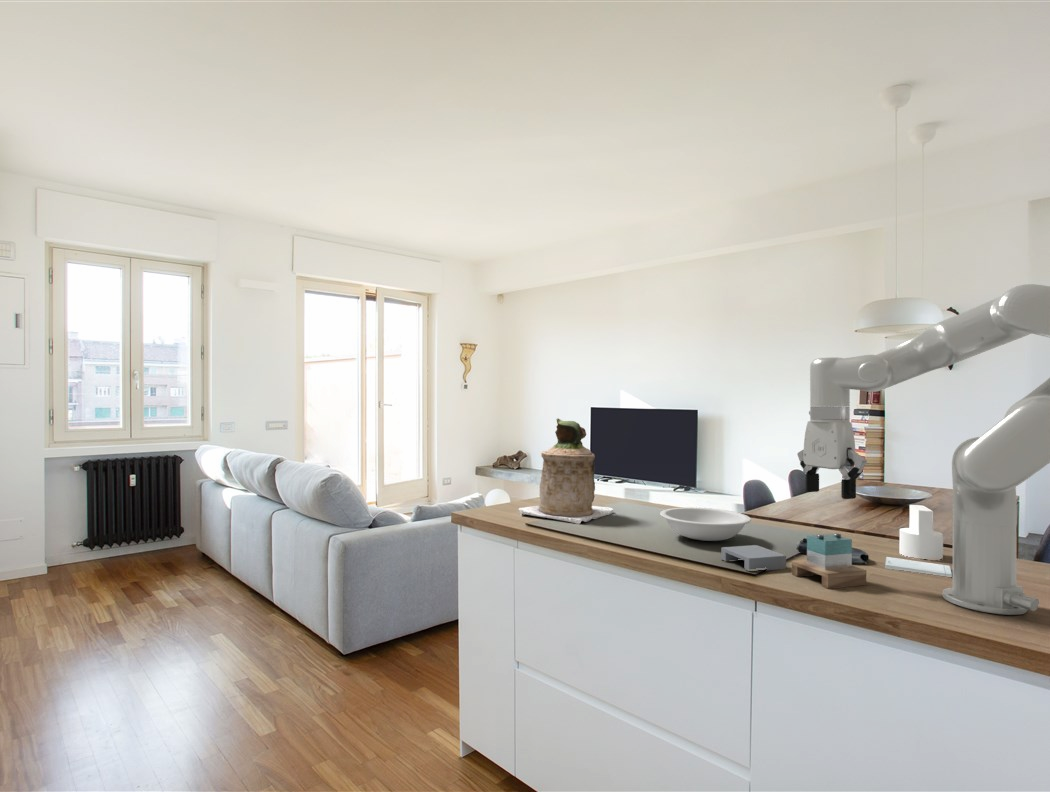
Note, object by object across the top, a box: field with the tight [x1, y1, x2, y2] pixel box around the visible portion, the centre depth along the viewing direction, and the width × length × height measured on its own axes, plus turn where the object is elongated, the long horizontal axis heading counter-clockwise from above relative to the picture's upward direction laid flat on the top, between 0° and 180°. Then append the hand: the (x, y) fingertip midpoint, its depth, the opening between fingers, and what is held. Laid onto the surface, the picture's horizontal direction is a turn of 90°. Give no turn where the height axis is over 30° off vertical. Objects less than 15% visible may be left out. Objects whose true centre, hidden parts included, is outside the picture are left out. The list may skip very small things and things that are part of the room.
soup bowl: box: [659, 506, 752, 542], centre depth 160 cm, size 24×24×7 cm
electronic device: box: [796, 537, 870, 565], centre depth 143 cm, size 9×6×15 cm
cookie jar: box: [518, 417, 615, 525], centre depth 193 cm, size 25×25×32 cm
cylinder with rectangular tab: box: [898, 504, 944, 559], centre depth 145 cm, size 9×9×12 cm
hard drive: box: [884, 556, 953, 578], centre depth 133 cm, size 2×8×12 cm
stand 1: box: [720, 544, 787, 571], centre depth 135 cm, size 10×10×3 cm
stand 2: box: [791, 559, 867, 589], centre depth 124 cm, size 10×10×3 cm
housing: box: [806, 533, 853, 570], centre depth 124 cm, size 7×5×7 cm
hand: (829, 494), depth 124 cm, fingers open, 9 cm apart
